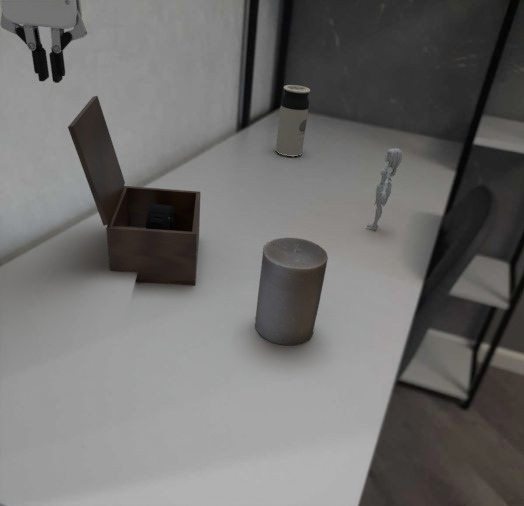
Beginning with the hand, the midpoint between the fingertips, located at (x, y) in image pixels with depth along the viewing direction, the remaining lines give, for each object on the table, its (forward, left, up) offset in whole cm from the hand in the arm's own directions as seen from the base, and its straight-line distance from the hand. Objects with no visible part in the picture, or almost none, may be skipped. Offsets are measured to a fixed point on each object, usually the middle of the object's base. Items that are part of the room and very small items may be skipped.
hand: (51, 79), depth 79 cm
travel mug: (+48, +70, -29) cm, 90 cm away
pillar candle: (+38, -21, -29) cm, 52 cm away
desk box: (+16, 0, -29) cm, 33 cm away
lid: (+7, 0, -11) cm, 13 cm away
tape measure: (+15, 0, -29) cm, 32 cm away
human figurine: (+63, +20, -29) cm, 72 cm away
